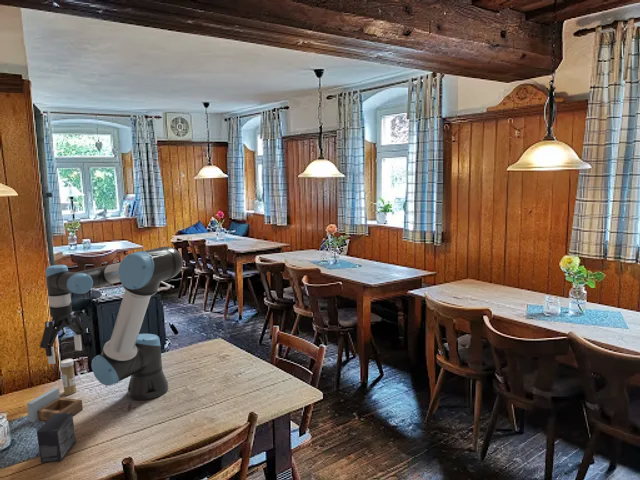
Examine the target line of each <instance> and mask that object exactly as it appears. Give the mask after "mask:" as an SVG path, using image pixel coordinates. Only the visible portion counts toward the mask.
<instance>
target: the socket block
mask: <svg viewBox="0 0 640 480" xmlns="http://www.w3.org/2000/svg"><path fill="white" fill-rule="evenodd" d="M83 406H84V405H83V400H82V399H76V398H69V397H68V398H67V397H61V396H60V397H59V398H57V399H56V400H54V401H52V402H51V403H49V404H47V405H46V406H44V407H42V408H41V409H39V410H37V415H38V420H37V422H42V423H45V422H46V421H47V420H48V419H49V418H50V417H51V416H52V415H53V414H61V413H72V415H73V417H75V416H76V415H78V414H80V412H83V410H84V407H83Z"/></svg>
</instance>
